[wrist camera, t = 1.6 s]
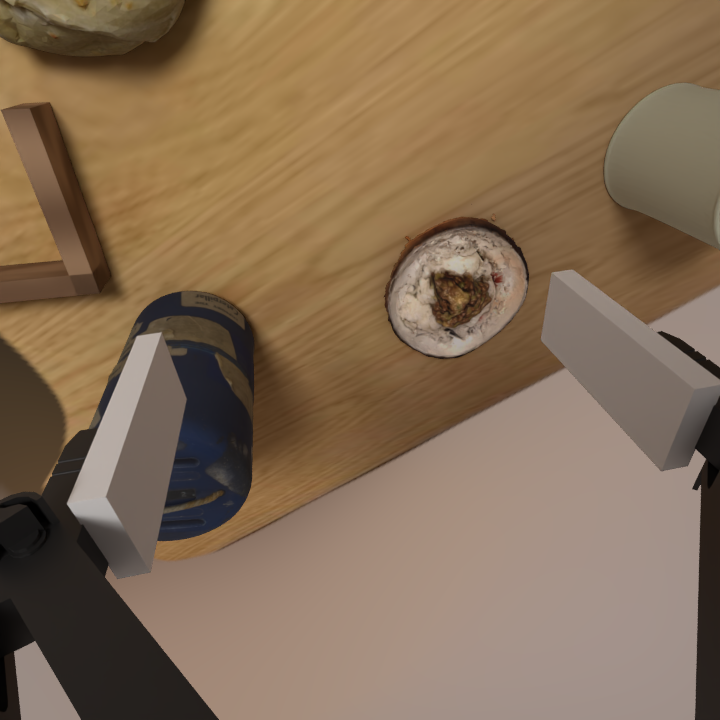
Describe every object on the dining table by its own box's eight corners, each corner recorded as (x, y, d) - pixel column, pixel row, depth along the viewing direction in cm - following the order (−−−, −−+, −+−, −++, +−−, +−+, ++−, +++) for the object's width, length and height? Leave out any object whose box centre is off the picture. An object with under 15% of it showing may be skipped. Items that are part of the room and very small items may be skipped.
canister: (145, 268, 36) (63, 430, 21) (268, 300, 39) (272, 460, 24) (128, 369, 40) (52, 559, 26) (240, 391, 44) (229, 571, 29)
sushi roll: (555, 298, 44) (579, 320, 41) (418, 381, 47) (430, 408, 44) (494, 159, 36) (518, 172, 33) (334, 270, 39) (340, 293, 36)
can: (641, 230, 41) (758, 291, 31) (580, 164, 37) (694, 211, 27) (736, 136, 38) (900, 171, 28) (680, 52, 34) (852, 59, 24)
